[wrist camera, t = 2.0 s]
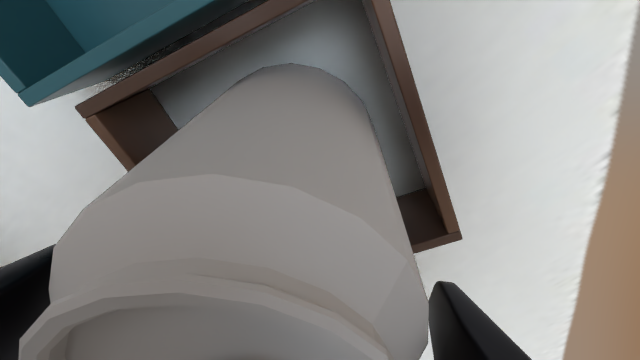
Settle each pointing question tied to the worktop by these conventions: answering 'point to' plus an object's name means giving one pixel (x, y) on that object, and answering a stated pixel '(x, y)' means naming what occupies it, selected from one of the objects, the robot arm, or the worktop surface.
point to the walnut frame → (141, 105)
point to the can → (244, 241)
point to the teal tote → (89, 39)
